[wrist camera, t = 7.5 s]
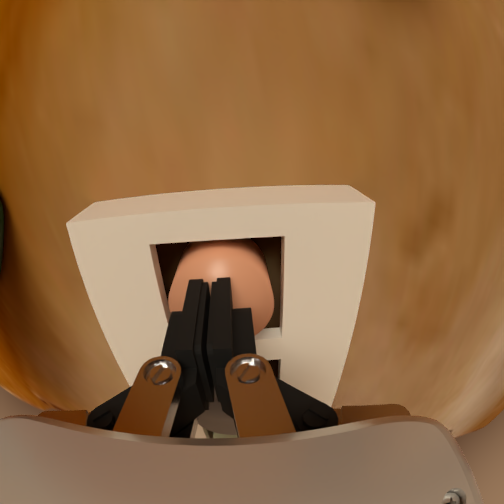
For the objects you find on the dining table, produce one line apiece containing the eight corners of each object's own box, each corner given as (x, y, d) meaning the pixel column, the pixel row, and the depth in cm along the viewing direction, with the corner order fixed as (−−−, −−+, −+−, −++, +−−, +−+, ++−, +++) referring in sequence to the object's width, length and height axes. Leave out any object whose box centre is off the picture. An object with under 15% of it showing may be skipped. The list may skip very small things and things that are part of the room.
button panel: (348, 185, 13) (375, 202, 11) (310, 422, 23) (316, 447, 20) (94, 202, 13) (66, 223, 10) (176, 429, 23) (173, 454, 20)
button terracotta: (265, 227, 13) (274, 256, 11) (266, 303, 15) (273, 341, 13) (173, 233, 13) (159, 263, 10) (186, 307, 15) (179, 345, 12)
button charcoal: (269, 352, 15) (275, 394, 13) (269, 395, 17) (273, 432, 14) (191, 356, 15) (187, 398, 12) (203, 398, 17) (201, 435, 14)
